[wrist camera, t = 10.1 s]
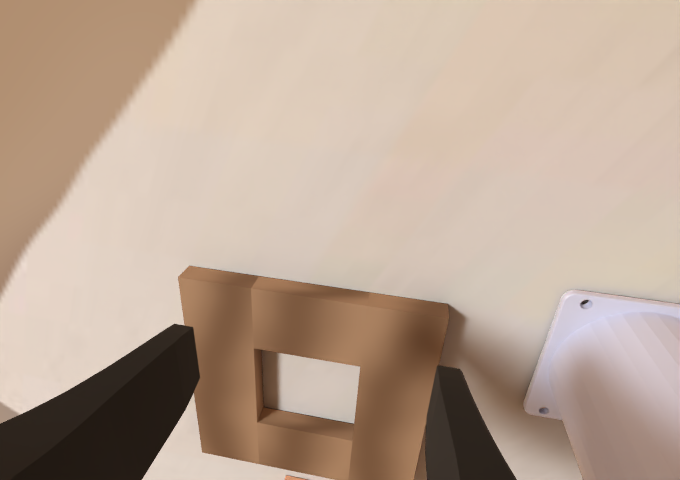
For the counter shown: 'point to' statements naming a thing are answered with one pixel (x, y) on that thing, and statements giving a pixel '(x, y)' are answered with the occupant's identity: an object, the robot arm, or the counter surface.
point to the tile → (292, 478)
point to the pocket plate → (318, 343)
